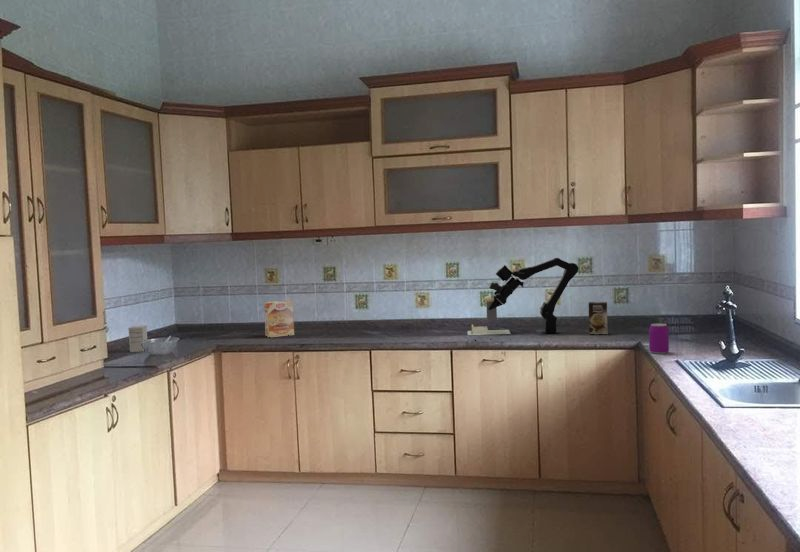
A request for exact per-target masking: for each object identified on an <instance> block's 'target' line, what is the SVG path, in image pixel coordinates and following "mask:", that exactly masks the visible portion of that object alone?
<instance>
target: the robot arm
mask: <svg viewBox="0 0 800 552" xmlns="http://www.w3.org/2000/svg"><path fill="white" fill-rule="evenodd" d="M553 267H560V268H561V269H563V274H562V276H561V279H560V281H559V282H558V284H557V286H556V287H555V289H554V291H553V293H552V294H551V296H550V298H549V299H548V301H547V302H545V301H544V302H543V303H542V306H541V307H540V308H539V309H540V311H539V313H540V315H541V317H542V318H543V319H544V331H541V332H542V333H544V334H549V335H550V334H559V333H560V331H557V321H558V320H557V319H558V318H557V316H556V315H554V311H555V308H556V305H557V303H558V301H559V299H560V298H561V296H562V295H563V293H564V291H565V289H566V288H567V285H568V284H569V283H570V281H571V280H572V279H573V278H574V277H575V276H576V275H577V273H578V272H579V271H580V270H579V269H580V268H579V266H578V264H576V263H575V262H567V261H565V260H562V259H561V258H559V257H554V258H553V259H549V260H547V261H544V262H541V263H539V264H535V265H533V266H527V267H521V268H518V269H517V270H516V271H511V270H510V269H509V267H508V266H507V265H506V264H504V265H503V266H502V267H501V268H499V270H497V271H496V273H495V275H496V276H497V277H498V278H499V279H500V280H501V281H502V282H504V281H505V282H506V283H505V284H502V285H499V282H492V281H491V283H490V284H489V289H490V290H494V292H493V298H492V299H494V301H493V303H492V304H491V306H490V307H489V310H492V309H494V308H496V307H497V308H498V307H501V306H503V305H506V304H507V300H508V298H509V297H510V296H511V295H513V293H514V292H515V291H516V289H517V288H519V287H520V286H521V287H522V288H524V281H525V280H527V279H529V278H530V277H533V276H534V275H535V274H538V273H541V272H543V271H545V270H548V269H551V268H553ZM514 277H516V278H514ZM521 280H522V281H521Z"/></svg>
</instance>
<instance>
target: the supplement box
mask: <svg viewBox="0 0 800 552" xmlns="http://www.w3.org/2000/svg"><path fill="white" fill-rule="evenodd" d="M127 330H128V342H129V343H128V344H129V352H130V353H136V352H139V353H140V352H145V351H144V349H143V348H142V346H141V342H142V341H144V340H147V341H148V331H147V330H148V329H147V325H145V324H144V325H143V324H141V325H132V326H129V327H128V329H127Z"/></svg>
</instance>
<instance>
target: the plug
mask: <svg viewBox="0 0 800 552" xmlns="http://www.w3.org/2000/svg"><path fill="white" fill-rule="evenodd" d="M485 300H486V303H485V305H486V321H488V322H492V321H494V322H495V321H498V318H497V317H498V314H497V309H498V307H496V308H494V309H492V310H489V307H490V306H491V304H492V303H493V301H494V299H493V298H486V299H485Z"/></svg>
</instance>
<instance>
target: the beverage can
mask: <svg viewBox="0 0 800 552" xmlns="http://www.w3.org/2000/svg"><path fill="white" fill-rule="evenodd" d="M669 330H670V329H669V328H668V326H667V324H666V323H651V324H650V327H649V330H648V336H649V337H648V338H649V339H648V340H649V341H648V342H649V344H648V345H649V351H650V352H651V354H655V355H663V354H668V352H669V350H670V345H669V344H670V343H669V342H670V338H669V334H670V333H669V332H670V331H669Z"/></svg>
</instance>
